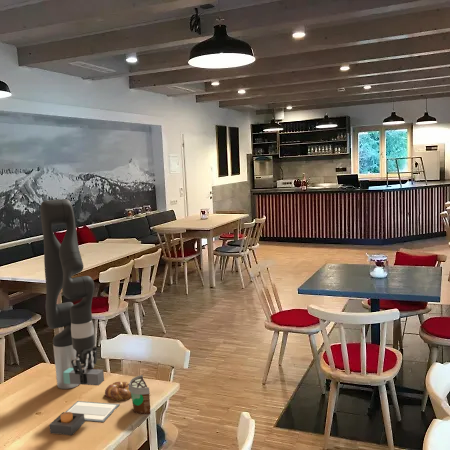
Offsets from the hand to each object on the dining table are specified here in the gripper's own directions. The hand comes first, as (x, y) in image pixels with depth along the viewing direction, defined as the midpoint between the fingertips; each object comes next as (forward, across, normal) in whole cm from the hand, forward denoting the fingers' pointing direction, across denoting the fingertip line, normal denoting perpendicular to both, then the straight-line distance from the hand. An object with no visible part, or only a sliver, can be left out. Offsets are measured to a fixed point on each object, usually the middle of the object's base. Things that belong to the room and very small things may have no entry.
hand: (87, 380), depth 171 cm
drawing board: (+12, 0, 0) cm, 12 cm away
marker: (+1, 0, +1) cm, 1 cm away
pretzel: (+12, +14, -5) cm, 19 cm away
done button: (+10, -11, +2) cm, 15 cm away
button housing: (+12, -11, +2) cm, 16 cm away
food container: (+12, +4, -17) cm, 21 cm away
